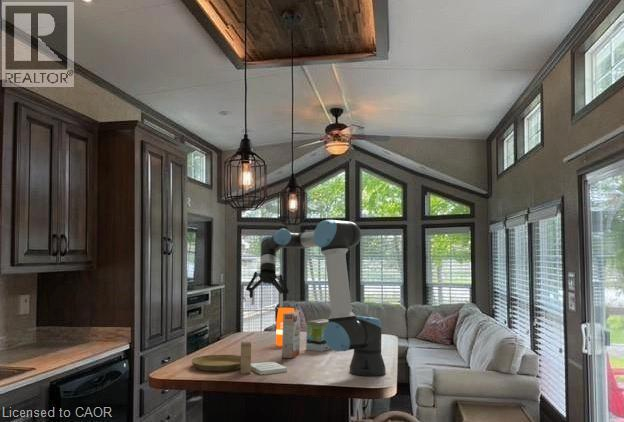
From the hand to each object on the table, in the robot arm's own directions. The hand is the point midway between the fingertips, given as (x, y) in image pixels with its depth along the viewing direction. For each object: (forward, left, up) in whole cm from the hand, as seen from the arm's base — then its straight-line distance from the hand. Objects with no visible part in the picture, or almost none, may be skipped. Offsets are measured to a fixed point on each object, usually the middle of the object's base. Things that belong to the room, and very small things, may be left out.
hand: (267, 305), depth 227 cm
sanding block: (-15, +16, -25) cm, 34 cm away
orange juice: (+35, -28, -26) cm, 52 cm away
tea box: (+16, -40, -26) cm, 50 cm away
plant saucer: (0, +22, -26) cm, 34 cm away
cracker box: (+7, -17, -26) cm, 32 cm away
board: (-15, +6, -25) cm, 30 cm away
